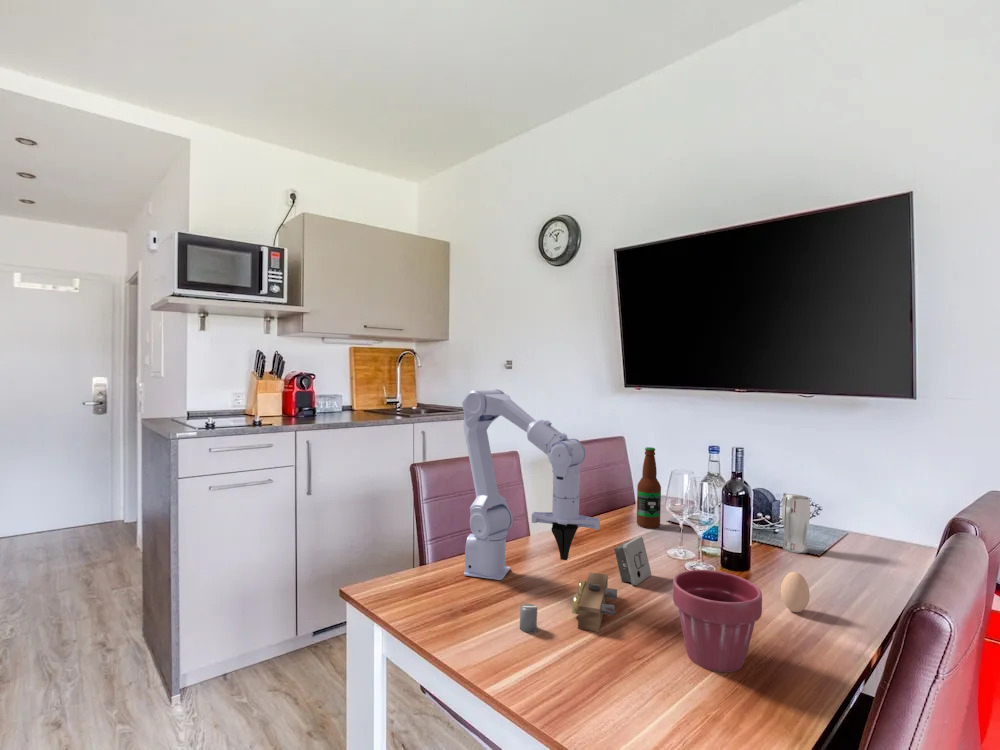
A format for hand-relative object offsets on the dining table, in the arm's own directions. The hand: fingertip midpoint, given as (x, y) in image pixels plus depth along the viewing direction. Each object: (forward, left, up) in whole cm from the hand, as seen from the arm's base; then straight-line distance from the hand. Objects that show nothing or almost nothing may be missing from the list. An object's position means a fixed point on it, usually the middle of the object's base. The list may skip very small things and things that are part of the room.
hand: (564, 558), depth 115 cm
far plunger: (+7, 0, -8) cm, 11 cm away
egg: (+47, +9, -9) cm, 49 cm away
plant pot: (+29, -16, -9) cm, 34 cm away
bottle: (+17, +63, -9) cm, 66 cm away
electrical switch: (+14, +16, -9) cm, 23 cm away
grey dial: (-4, -16, -9) cm, 19 cm away
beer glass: (+57, +53, -9) cm, 78 cm away
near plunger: (+7, -8, -8) cm, 13 cm away
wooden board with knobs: (+7, -4, -8) cm, 12 cm away
